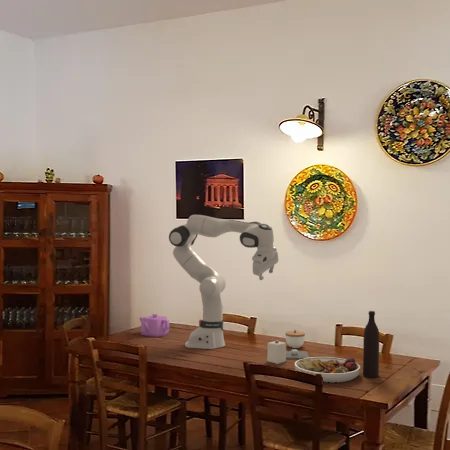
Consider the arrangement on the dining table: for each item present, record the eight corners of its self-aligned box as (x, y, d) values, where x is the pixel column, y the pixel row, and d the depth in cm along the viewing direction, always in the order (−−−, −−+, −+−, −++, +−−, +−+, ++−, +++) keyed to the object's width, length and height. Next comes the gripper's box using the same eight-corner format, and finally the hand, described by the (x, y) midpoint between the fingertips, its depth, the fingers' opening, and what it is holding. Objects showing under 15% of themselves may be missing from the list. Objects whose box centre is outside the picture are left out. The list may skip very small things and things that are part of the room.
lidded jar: (298, 349, 330) (298, 332, 330) (281, 347, 336) (281, 330, 336) (308, 346, 338) (308, 329, 338) (291, 343, 345) (291, 327, 345)
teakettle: (170, 336, 361) (170, 316, 360) (142, 338, 357) (142, 317, 356) (166, 331, 377) (166, 311, 377) (139, 332, 373) (139, 312, 373)
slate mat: (282, 358, 310) (282, 353, 310) (280, 352, 324) (280, 346, 324) (309, 359, 309) (309, 353, 309) (306, 352, 323) (306, 347, 323)
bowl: (310, 387, 263) (310, 369, 262) (284, 369, 292) (285, 352, 291) (372, 382, 271) (372, 364, 270) (341, 365, 300) (342, 349, 299)
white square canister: (277, 363, 300) (277, 342, 300) (267, 361, 305) (267, 340, 304) (285, 361, 305) (286, 340, 304) (276, 359, 309) (276, 338, 309)
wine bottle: (376, 373, 283) (377, 310, 282) (380, 378, 276) (381, 312, 275) (361, 373, 283) (362, 310, 282) (365, 378, 276) (366, 312, 275)
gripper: (271, 244, 334) (271, 267, 340) (250, 258, 320) (251, 282, 325) (280, 247, 331) (281, 270, 336) (260, 261, 316) (260, 285, 321)
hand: (266, 276), depth 330 cm, fingers open, 8 cm apart
